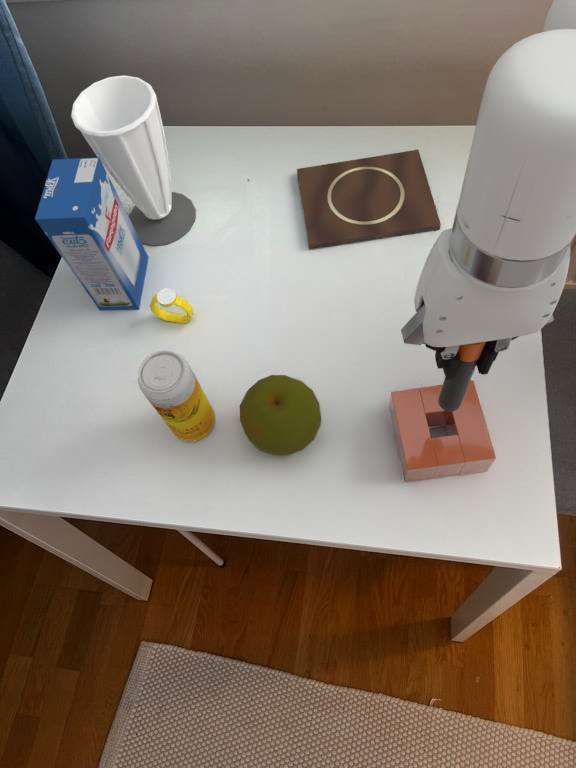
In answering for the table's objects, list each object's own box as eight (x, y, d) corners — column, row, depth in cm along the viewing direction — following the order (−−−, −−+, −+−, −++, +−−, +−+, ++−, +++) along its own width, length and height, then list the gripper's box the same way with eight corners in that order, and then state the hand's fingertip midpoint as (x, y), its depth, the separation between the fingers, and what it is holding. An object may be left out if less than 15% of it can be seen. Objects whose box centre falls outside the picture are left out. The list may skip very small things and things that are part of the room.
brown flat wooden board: (417, 155, 95) (418, 148, 94) (439, 229, 88) (441, 223, 87) (297, 174, 96) (296, 167, 95) (309, 249, 89) (308, 243, 87)
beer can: (167, 441, 77) (128, 393, 64) (178, 399, 80) (142, 345, 66) (211, 446, 76) (180, 398, 63) (220, 404, 79) (193, 349, 65)
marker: (458, 390, 63) (483, 319, 51) (463, 410, 62) (491, 343, 50) (435, 393, 63) (455, 323, 51) (440, 413, 62) (462, 347, 50)
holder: (466, 396, 75) (473, 379, 71) (487, 471, 71) (496, 458, 66) (388, 408, 76) (390, 391, 71) (404, 482, 71) (407, 470, 67)
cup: (168, 256, 91) (118, 145, 72) (113, 230, 94) (51, 118, 75) (210, 206, 95) (173, 88, 75) (155, 183, 98) (107, 65, 79)
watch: (154, 324, 86) (141, 301, 80) (160, 308, 87) (148, 285, 81) (193, 329, 84) (182, 306, 79) (198, 313, 86) (188, 290, 80)
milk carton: (110, 258, 92) (52, 159, 74) (148, 256, 91) (99, 156, 73) (99, 311, 88) (34, 219, 70) (139, 310, 87) (83, 217, 69)
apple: (338, 430, 75) (335, 394, 65) (284, 482, 73) (274, 453, 63) (284, 383, 79) (275, 342, 69) (232, 431, 77) (215, 396, 67)
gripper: (610, 175, 40) (535, 318, 57) (379, 210, 41) (371, 342, 57) (653, 260, 37) (559, 386, 53) (401, 297, 37) (385, 411, 54)
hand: (462, 362), depth 55 cm, fingers closed on marker, 2 cm apart
